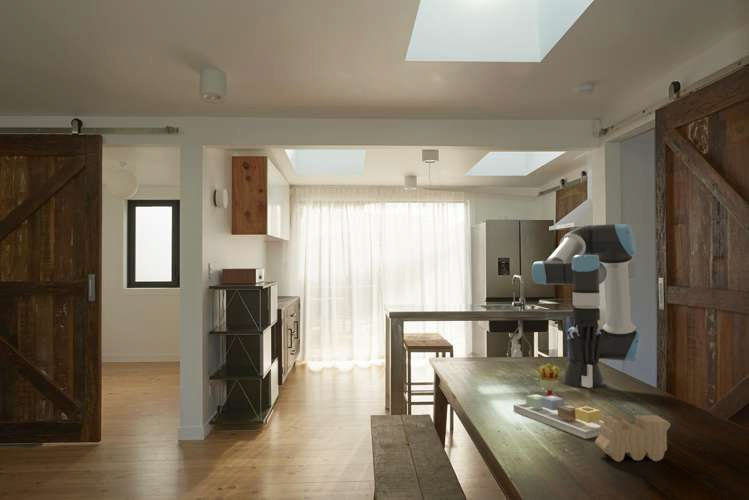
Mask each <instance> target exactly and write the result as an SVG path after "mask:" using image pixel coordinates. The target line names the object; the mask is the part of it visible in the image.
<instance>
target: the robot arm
mask: <svg viewBox="0 0 749 500" xmlns="http://www.w3.org/2000/svg"><path fill="white" fill-rule="evenodd" d="M636 255H637V242H636V237H635V233H634V230H633V228H632V226H631V225H629V224H625V223H623V224H622V223H621V224H620V223H613V224H611V223H610V224H609V223H607V224H594V225H592V224H591V225H589V224H588V225H583V226H579V227H577V228H575V229H572V230H571V231H569V232H567V233H566V234H564V235H563V237H562V238H561V239H560V240H559V244H558V247H557V248H556V249H555V250H553V252H552V253H551V255H549V257H548V258H547V259H546V260H539V261H534V263H532V266H531V278H532V280H533V282H534V283H535V284H536V285H537V284H539V285H541V284H542V285H544V286H545V285H562V286H563V285H565V286H566V285H567V286H568V285H569V286H570V285H572V287H571V288H572V305H573V308H572V319H573V320H574V324H573V325H574V326H571V327H569V328H568V330H567V365H566V368H565V372H564V374H563V383H565V384H566V385H569V386H571V387H572V386H573V387H579V388H588V389H591V388H600V387H603V386H604V385H605V381H604V379H605V378H604V377H603V374H602V371H601V367H600V361H599V360H612V361H619V362H635V361H637V360H638V357H639V353H640V352H639V351H640V345H641V338H642V337H641V336H642V334H641V332H640V331H638V330H637V327H636V325H634V324H633V322H632V318H631V298H630V280H629V264H630V262H631V261H633V257H634V256H636ZM602 283H603V289H604V290H603V291H604V299H605V301H604V302H605V316H606V317H605V318H606V323H605V324H603V325H602V328H600V327H599V322H598V321H600V320H601V309H600V308H599V307H600V305H601V296H600V293H601V292H600V285H601V284H602Z"/></svg>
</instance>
